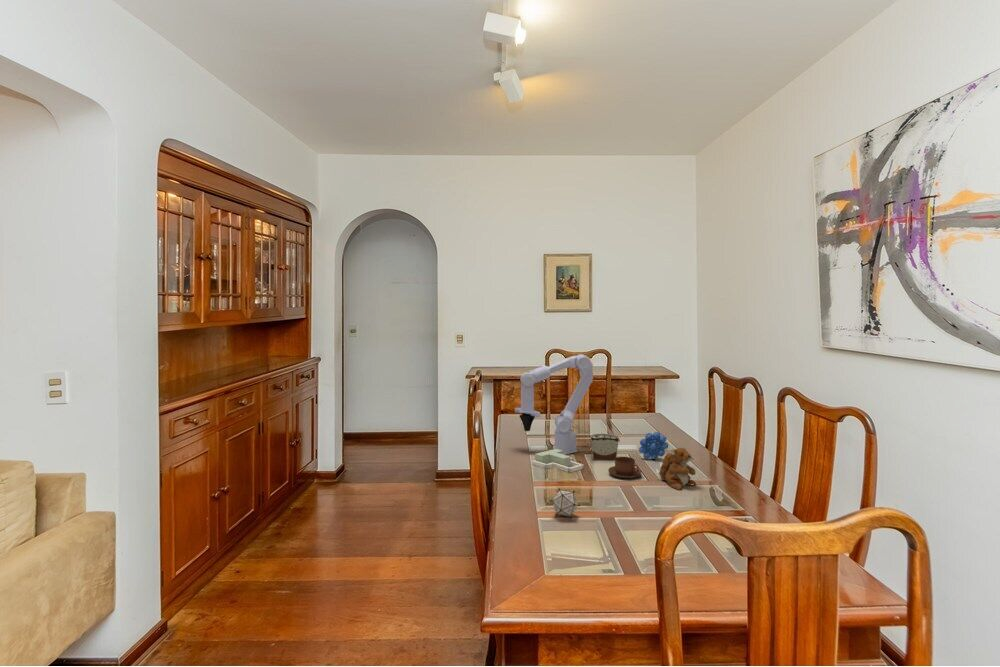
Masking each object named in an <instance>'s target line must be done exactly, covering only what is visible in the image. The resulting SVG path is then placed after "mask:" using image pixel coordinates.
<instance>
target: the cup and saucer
mask: <svg viewBox="0 0 1000 667" xmlns="http://www.w3.org/2000/svg"><path fill="white" fill-rule="evenodd" d="M635 461H636V459H634V458H632V457H628V456H617V458H615V461H614V466H611V467H609V468H608V473H609V474H611V475H612V476H614V477H617V478H620V479H634V478H637V477H639V476H640V475H642V470H641V469H640V468H639V466H638V464H636V462H635Z"/></svg>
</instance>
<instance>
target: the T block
mask: <svg viewBox="0 0 1000 667" xmlns="http://www.w3.org/2000/svg"><path fill="white" fill-rule="evenodd" d="M534 457H535V458H534V460H535V461H538V462H541V463H544V464H549V463H553V462H554V463H557V464H560V465H563V466H566V467H569V468H570V467H571V465H570V464H571V456H569V455H567V454H566V455H563V451H562V450H558V449H555V448H554V449H550V450H545V451H542V452H538V453H534Z"/></svg>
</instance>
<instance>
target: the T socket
mask: <svg viewBox="0 0 1000 667" xmlns="http://www.w3.org/2000/svg"><path fill="white" fill-rule="evenodd" d="M570 457H571V456H570ZM532 465H533V466H535V467H536V466H537V467H539V468H541V469H546V470H547V469H551V468H554V469H557V470H562V471H563V472H564V471H565V472H566V473H573V472H574V473H575V472H576V471H582V470H584V469H585V465H584V464H583V463H579V462H576V461H574V457H571V464H570V467H566V466H563V465H560V464H557V463H554V462H553V463H549V464H544V463H541V462H538V461H535V459H534V460H532Z"/></svg>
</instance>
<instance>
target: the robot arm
mask: <svg viewBox="0 0 1000 667" xmlns="http://www.w3.org/2000/svg"><path fill="white" fill-rule="evenodd" d="M593 366H594V365H593V362H592V361H591V359H590V357H588V356H587V355H585V354H583V353H578V354H577V355H572V356H569V357H567V358H564V359H563V360H560V361H558V362H556V363H554V364H552V365H549V366H547V365H546V364H545V365H542V364H540V365H539V366H538V367H537V368H533V369H530V370H528V372H527V371H526V372H524V373H522V374H521V376H520V379H519V380H520V382H521V385H520V388H521V389H520V407H515V408H514V412H515V413H520V415H519V418H520V420H521V422H522V425H523V430H524V432H530V431H531V427H532V424H533V423H534V422H533V421H534V420H535V418H540V417H541V412H540V411H538V410H535V390H534V384H535V383H540V382H542V381H545V380H547V379H549V378H550V377H551V375H552V374H554V373H557V372H559V371H562V370H565V369H567V368H573V369H577V370H578V372H579V375H580V378H579V381H578V383H577V385H576V386H575V388H574V390H573V393H572V394H571V396H570V397H569V399H568V402H566V405H565V407H564V409H562V410H561V412H560V414H559V415H557V416H556V417H555V419H554V424H555V427H556V428H555V430H554V449H558V450H562V451H563V455H566V456H567V455H568V454H573V453H578V452H579V451H578V450H577V436H576V433H575V432H574V430H571V429H572V423H573V420H574V417H575V414H576V412H577V410H578V408H579V407H580V404H581V403H582V401H583V399H584V397H585V395H586V393H587V392H588V390H589V388H590V386H591V384H592V382H593V379H594V372H593Z"/></svg>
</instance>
